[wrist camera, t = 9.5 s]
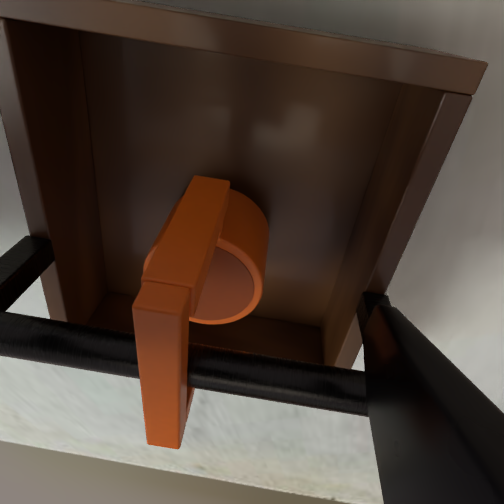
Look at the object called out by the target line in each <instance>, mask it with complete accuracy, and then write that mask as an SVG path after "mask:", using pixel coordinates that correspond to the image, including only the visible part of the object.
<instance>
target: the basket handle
mask: <svg viewBox="0 0 504 504" xmlns="http://www.w3.org/2000/svg"><path fill="white" fill-rule="evenodd" d="M54 261H55V254H54V249H53V245H52V240H51V239H47V238H41V237H35V236H29V235H28V236H25V237H24V238H23V239H21V240H20V241H19V242H18V243H17V244H15V245H14V246H13V247H12V248H11V249H9V250H8V251H7V252H6V253H5V254H3V255H2V256H1V257H0V356H6V357H12V358H18V359H24V360H30V361H36V362H42V363H48V364H54V365H60V366H66V367H72V368H78V369H84V370H90V371H96V372H102V373H108V374H114V375H120V376H126V377H132V378H138V379H140V375H139V367H138V358H137V349H136V340H135V333H130V332H124V331H118V330H112V329H106V328H100V327H94V326H88V325H82V324H76V323H70V322H64V321H58V320H52V319H46V318H40V317H34V316H28V315H22V314H16V313H10V312H5V311H6V310H7V309H8V308H9V307H10V306H11V305H12V304H13V303H14V302H15V301H16V300H17V299H18V298H19V297H20V296H21V295H22V294H23V293H24V292H25V291H26V290H27V289H28V288H29V287H30V286H31V284H32V283H33V282H34V281H35V280H36V279H37V278H38V277H39V276H40V275H41V274H42V273H43V272H44V271H45V270H46V269H47V268H48V267H49V266H50V265H51V264H52V263H53V262H54ZM378 304H381V305H387V306H391V304H390V301H389V298H388V296H387V295H383V294H377V293H371V292H365V291H364V292H362V294H361V297H360V299H359V302H358V304H357V307H356V314H357V319H358V324H359V328H360V333H361V337H362V342H363V334H364V330H365V327H366V325H367V323H368V320H369V318H370V316H371V313H372V311H373V309H374V307H375V306H376V305H378ZM363 347H364V346H363ZM187 387H191V388H197V389H203V390H209V391H215V392H221V393H227V394H233V395H239V396H245V397H251V398H257V399H263V400H269V401H275V402H281V403H287V404H293V405H299V406H305V407H311V408H317V409H323V410H329V411H335V412H341V413H347V414H353V415H359V416H365V417H369V413H368V406H367V399H366V384H365V371H359V370H353V369H347V368H341V367H335V366H329V365H323V364H317V363H311V362H305V361H299V360H293V359H287V358H281V357H275V356H269V355H262V354H256V353H250V352H244V351H238V350H232V349H226V348H220V347H214V346H208V345H202V344H196V343H190V342H188V366H187Z"/></svg>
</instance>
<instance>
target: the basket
mask: <svg viewBox="0 0 504 504" xmlns="http://www.w3.org/2000/svg"><path fill="white" fill-rule="evenodd" d="M487 66H488V63H487V62H484V61H480V60H476V59H471V58H467V57H463V56H459V55H455V54H450V53H446V52H442V51H438V50H434V49H428V48H422V47H416V46H410V45H404V44H398V43H392V42H386V41H380V40H373V39H367V38H361V37H355V36H349V35H343V34H337V33H331V32H325V31H319V30H313V29H307V28H301V27H295V26H289V25H283V24H277V23H271V22H265V21H258V20H252V19H246V18H240V17H234V16H228V15H222V14H216V13H210V12H204V11H198V10H192V9H186V8H180V7H174V6H168V5H162V4H156V3H150V2H143V1H137V0H0V113H1V117H2V121H3V125H4V129H5V133H6V137H7V142H8V146H9V150H10V154H11V158H12V162H13V166H14V170H15V175H16V179H17V183H18V187H19V191H20V195H21V199H22V204H23V208H24V212H25V216H26V220H27V224H28V228H29V233H30V236H35V237H41V238H47V239H51V240H52V245H53V249H54V254H55V261H54V262H53V263H52V264H51V265H50V266H49V267H48V268H47V269H46V270H45V271H44V272H43V273H42V274H41V275H40V278H41V282H42V286H43V290H44V295H45V299H46V303H47V307H48V311H49V315H50V319H52V320H58V321H64V322H70V323H76V324H82V325H88V326H94V327H100V328H106V329H112V330H118V331H124V332H130V333H135V331H134V322H133V313H132V305H133V303H134V301H135V299H136V297H137V295H138V293H139V291H140V289H141V287H142V286H141V277H142V275H143V267H144V262H145V259H146V256H147V254H148V253H149V251H150V249H151V247H152V245H153V243H154V241H155V240H156V238H157V236H158V234H159V232H160V230H161V228H162V227H163V225H164V223H165V221H166V219H167V217H168V215H169V214H170V212H171V210H172V208H173V206H174V205H175V203H176V202H177V201H178V200H179V199H180V198H181V197H182V196H183V195H184V194H185V192H186V190H187V188H188V186H189V184H190V182H191V180H192V179H193V177H194V175H198V176H204V177H210V178H216V179H222V180H228V181H230V189H232V190H235V191H238V192H240V193H242V194H244V195H245V196H247V197H248V198H250V199H251V200H252V201H253V202H254V203H255V204H256V205H257V206H258V207H259V208H260V209H261V211H262V212H263V214H264V216H265V218H266V220H267V223H268V227H269V242H268V251H267V260H266V269H265V278H264V287H263V294H262V297H261V299H260V301H259V303H258V305H257V306H256V307H255V309H254V310H253V311H252V312H251V313H249V314H248V315H246V316H245V317H243V318H241V319H239V320H236V321H234V322H230V323H225V324H201V323H196V322H192V321H189V335H188V342H190V343H196V344H202V345H208V346H214V347H220V348H226V349H232V350H238V351H244V352H250V353H256V354H262V355H269V356H275V357H281V358H287V359H293V360H299V361H305V362H311V363H317V364H323V365H329V366H335V367H341V368H347V369H351V368H352V366H353V364H354V361H355V359H356V357H357V355H358V353H359V350H360V348H361V346H362V344H363V342H362V337H361V333H360V328H359V324H358V319H357V314H356V307H357V304H358V302H359V299H360V297H361V294H362V292H364V291H365V292H371V293H377V294H383V295H385V292H386V290H387V288H388V286H389V283H390V281H391V279H392V277H393V274H394V272H395V270H396V268H397V266H398V263H399V261H400V259H401V257H402V254H403V252H404V250H405V248H406V245H407V243H408V241H409V239H410V237H411V234H412V232H413V230H414V228H415V225H416V223H417V221H418V219H419V216H420V214H421V212H422V210H423V208H424V205H425V203H426V201H427V199H428V196H429V194H430V192H431V190H432V187H433V185H434V183H435V181H436V179H437V176H438V174H439V172H440V170H441V167H442V165H443V163H444V161H445V158H446V156H447V154H448V152H449V150H450V147H451V145H452V143H453V141H454V138H455V136H456V134H457V132H458V129H459V127H460V125H461V123H462V121H463V118H464V116H465V114H466V112H467V109H468V107H469V105H470V103H471V100H472V96H471V95H474V94H475V93H476V90H477V88H478V86H479V84H480V81H481V79H482V77H483V75H484V72H485V70H486V68H487Z"/></svg>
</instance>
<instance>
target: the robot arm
mask: <svg viewBox="0 0 504 504" xmlns="http://www.w3.org/2000/svg"><path fill="white" fill-rule="evenodd" d="M363 346H364V365H365V384H366V399H367V406H368V413H369V419H370V425H371V431H372V437H373V442H374V448H375V454H376V460H377V466H378V472H379V478H380V483H381V489H382V495H383V501H384V504H504V413H503V412H502V411H501V410H500V409H499V408H498V407H497V406H496V405H495V404H494V403H493V402H492V401H491V400H490V399H489V398H487V397H486V396H485V395H484V394H483V393H482V392H481V391H480V390H479V389H478V388H477V387H476V386H475V385H474V384H473V383H472V382H471V381H470V380H469V379H468V378H467V377H466V376H465V375H464V374H463V373H462V372H461V371H460V370H459V369H458V368H457V367H456V366H455V365H454V364H453V363H452V362H451V361H450V360H449V359H448V358H447V357H446V356H445V355H444V354H443V353H442V352H441V351H440V350H439V349H438V348H437V347H436V346H435V345H433V344H432V343H431V342H430V341H429V340H428V339H427V338H426V337H425V336H424V335H423V334H422V333H421V332H420V331H419V330H418V329H417V328H416V327H415V326H414V325H413V324H412V323H411V322H410V321H409V320H408V319H407V318H406V317H405V316H404V315H403V314H402V313H401V312H400V311H399V310H398V309H397V308H395V307H393V306H387V305H381V304H378V305H376V306H375V307H374V309H373V311H372V313H371V316H370V318H369V320H368V323H367V325H366V327H365V330H364V334H363Z"/></svg>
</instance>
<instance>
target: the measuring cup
mask: <svg viewBox="0 0 504 504" xmlns="http://www.w3.org/2000/svg"><path fill="white" fill-rule="evenodd" d="M268 242H269V227H268V223H267V220H266V218H265V216H264V214H263V212H262V211H261V209H260V208H259V207H258V206H257V205H256V204H255V203H254V202H253V201H252V200H251V199H250V198H248V197H247V196H245V195H244V194H242V193H240V192H238V191H235V190H232V189H230V181H228V180H222V179H216V178H210V177H204V176H198V175H194V177H193V179H192V180H191V182H190V184H189V186H188V188H187V190H186V192H185V194H184V195H183V196H182V197H181V198H180V199H179V200H178V201H177V202H176V203H175V205H174V206H173V208H172V210H171V212H170V214H169V215H168V217H167V219H166V221H165V223H164V225H163V227H162V228H161V230H160V232H159V234H158V236H157V238H156V240H155V241H154V243H153V245H152V247H151V249H150V251H149V253H148V254H147V256H146V259H145V262H144V267H143V275H142V277H141V286H142V287H141V289H140V291H139V293H138V295H137V297H136V299H135V301H134V303H133V305H132V313H133V322H134V331H135V340H136V349H137V358H138V367H139V375H140V384H141V393H142V402H143V411H144V420H145V429H146V438H147V444H149V445H155V446H161V447H167V448H173V449H179V448H180V446H181V442H182V438H183V434H184V430H185V426H186V422H187V418H188V414H189V410H190V406H191V402H192V398H193V394H194V390H195V388H191V387H187V366H188V335H189V321H192V322H196V323H201V324H225V323H230V322H234V321H236V320H239V319H241V318H243V317H245V316H246V315H248V314H249V313H251V312H252V311H253V310H254V309H255V307H256V306H257V305H258V303H259V301H260V299H261V297H262V294H263V287H264V278H265V269H266V260H267V251H268Z"/></svg>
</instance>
